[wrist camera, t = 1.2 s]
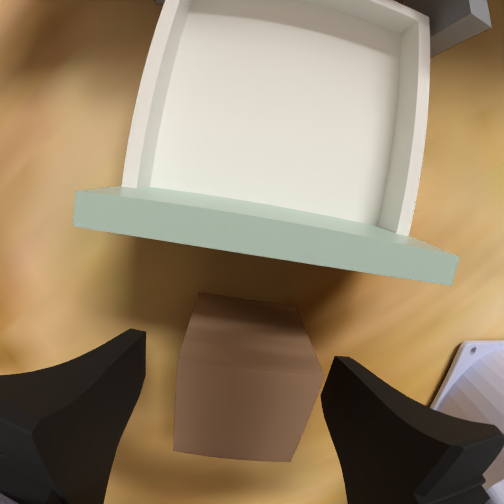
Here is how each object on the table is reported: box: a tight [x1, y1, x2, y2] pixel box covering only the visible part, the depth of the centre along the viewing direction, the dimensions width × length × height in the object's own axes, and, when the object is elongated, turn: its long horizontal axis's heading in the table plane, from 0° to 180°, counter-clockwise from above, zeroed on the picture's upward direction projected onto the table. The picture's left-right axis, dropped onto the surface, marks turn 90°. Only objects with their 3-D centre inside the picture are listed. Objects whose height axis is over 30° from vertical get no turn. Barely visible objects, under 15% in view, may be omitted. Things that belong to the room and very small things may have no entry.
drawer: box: [73, 0, 459, 286], centre depth 8 cm, size 9×9×5 cm
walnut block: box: [174, 292, 325, 462], centre depth 11 cm, size 4×4×5 cm
